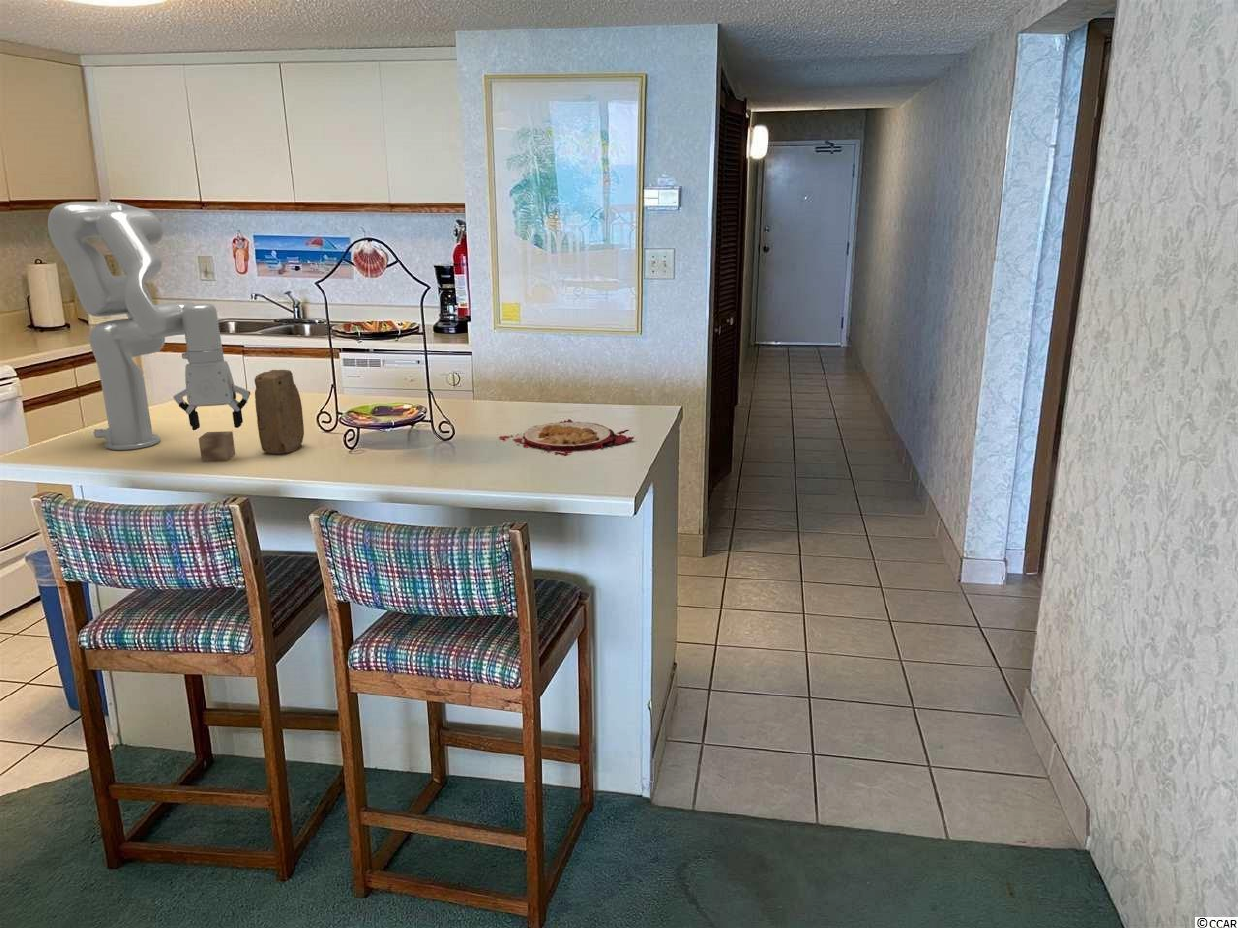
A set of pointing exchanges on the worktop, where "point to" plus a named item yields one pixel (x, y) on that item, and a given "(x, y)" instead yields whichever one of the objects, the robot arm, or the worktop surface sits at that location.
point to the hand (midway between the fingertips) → (217, 427)
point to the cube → (217, 446)
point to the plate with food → (569, 437)
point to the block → (278, 412)
